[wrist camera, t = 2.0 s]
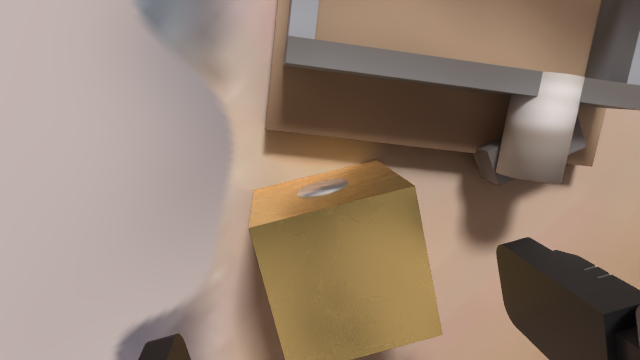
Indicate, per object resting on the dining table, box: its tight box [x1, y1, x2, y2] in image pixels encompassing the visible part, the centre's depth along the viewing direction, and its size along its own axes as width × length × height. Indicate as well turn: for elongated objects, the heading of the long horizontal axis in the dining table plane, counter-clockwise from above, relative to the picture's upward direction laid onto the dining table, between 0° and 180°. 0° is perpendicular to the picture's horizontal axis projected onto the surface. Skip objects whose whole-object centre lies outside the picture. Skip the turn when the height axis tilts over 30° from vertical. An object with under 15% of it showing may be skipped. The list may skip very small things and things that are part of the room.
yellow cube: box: [249, 160, 442, 360], centre depth 16 cm, size 5×5×5 cm
